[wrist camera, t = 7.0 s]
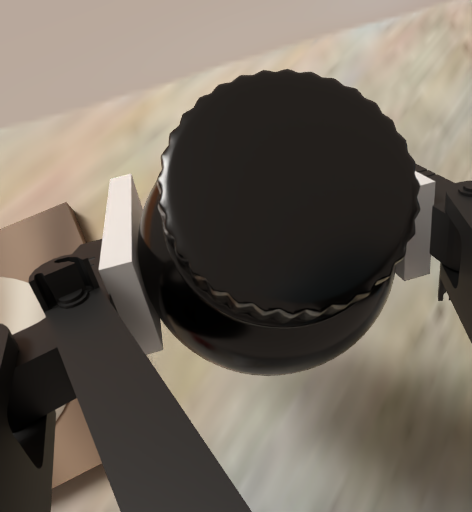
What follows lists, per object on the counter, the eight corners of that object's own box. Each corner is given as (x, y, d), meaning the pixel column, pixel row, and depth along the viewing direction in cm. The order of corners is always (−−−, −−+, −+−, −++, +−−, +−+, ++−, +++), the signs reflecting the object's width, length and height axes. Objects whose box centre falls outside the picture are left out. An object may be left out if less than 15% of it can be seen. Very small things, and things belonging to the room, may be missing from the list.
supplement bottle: (143, 330, 19) (11, 259, 7) (214, 199, 20) (201, -32, 9) (287, 402, 18) (402, 456, 6) (348, 261, 20) (526, 101, 8)
